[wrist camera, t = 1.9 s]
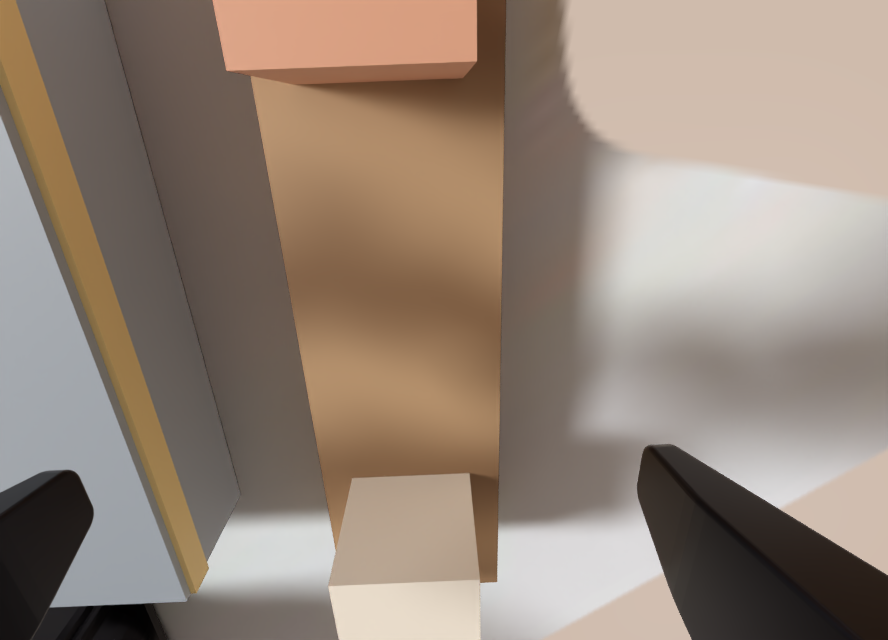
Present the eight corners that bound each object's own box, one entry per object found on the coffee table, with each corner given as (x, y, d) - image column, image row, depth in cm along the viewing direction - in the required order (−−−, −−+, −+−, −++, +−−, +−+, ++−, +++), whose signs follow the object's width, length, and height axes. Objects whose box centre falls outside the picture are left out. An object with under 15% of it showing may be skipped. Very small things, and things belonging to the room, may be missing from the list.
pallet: (486, 503, 22) (496, 582, 18) (357, 508, 22) (342, 588, 18) (487, -145, 13) (509, -249, 9) (263, -136, 13) (193, -239, 9)
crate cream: (470, 556, 18) (480, 672, 14) (364, 561, 18) (346, 678, 14) (469, 473, 16) (479, 579, 12) (352, 478, 16) (328, 586, 12)
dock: (245, 494, 21) (192, 601, 16) (38, 503, 21) (-73, 612, 16) (93, -65, 13) (-96, -163, 8) (-246, -53, 13) (-623, -144, 8)
